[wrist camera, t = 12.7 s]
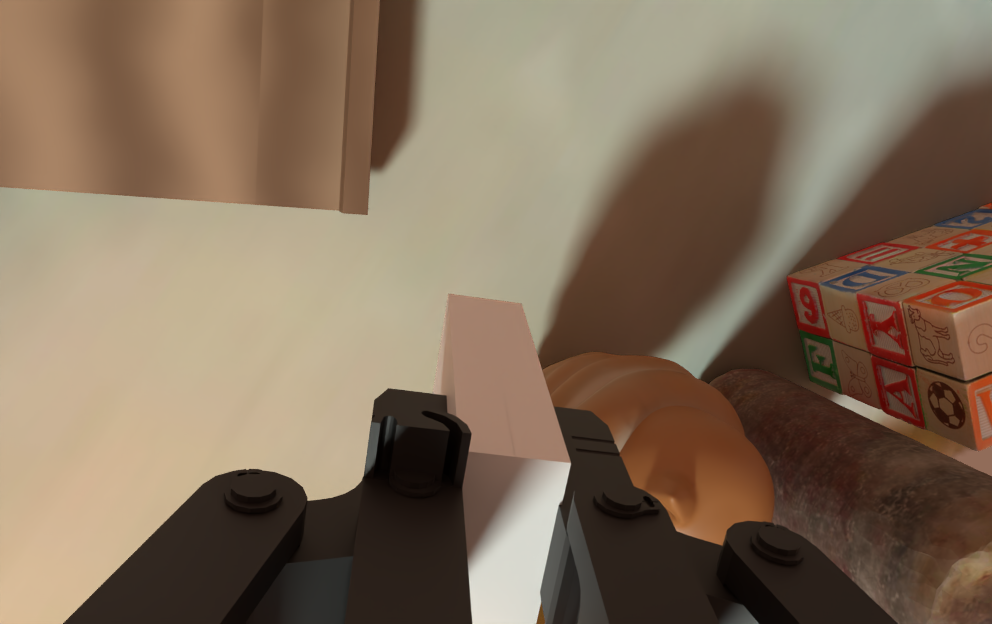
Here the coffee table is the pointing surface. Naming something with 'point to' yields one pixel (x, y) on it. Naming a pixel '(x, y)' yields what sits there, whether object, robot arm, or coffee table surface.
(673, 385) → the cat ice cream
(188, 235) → the coffee table surface
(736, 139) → the coffee table surface
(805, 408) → the brown rough cylinder
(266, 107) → the wooden tray
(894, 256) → the stack of blocks
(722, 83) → the coffee table surface
